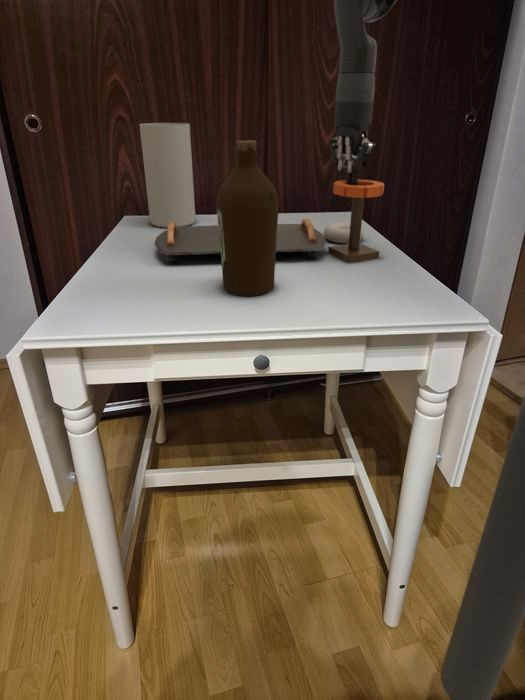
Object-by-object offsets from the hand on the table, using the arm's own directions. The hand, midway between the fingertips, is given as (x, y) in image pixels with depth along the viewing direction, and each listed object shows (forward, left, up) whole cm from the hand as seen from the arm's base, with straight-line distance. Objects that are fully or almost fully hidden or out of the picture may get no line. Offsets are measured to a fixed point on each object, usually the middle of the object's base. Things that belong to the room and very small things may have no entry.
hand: (347, 189), depth 104 cm
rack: (-4, 0, -14) cm, 14 cm away
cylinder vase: (+44, +26, -14) cm, 53 cm away
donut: (+8, -6, -14) cm, 17 cm away
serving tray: (+12, +20, -14) cm, 27 cm away
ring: (-4, 0, 0) cm, 4 cm away
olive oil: (-11, +29, -14) cm, 34 cm away
